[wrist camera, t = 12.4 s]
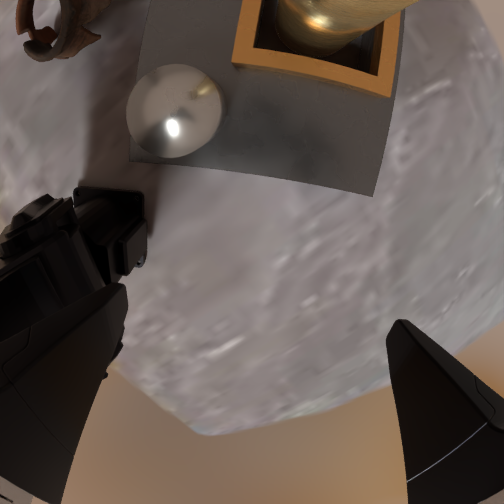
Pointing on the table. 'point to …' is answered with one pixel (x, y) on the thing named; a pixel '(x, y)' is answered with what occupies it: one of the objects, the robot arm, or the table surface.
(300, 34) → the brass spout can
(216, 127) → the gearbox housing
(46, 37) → the pottery mug
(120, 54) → the table surface
